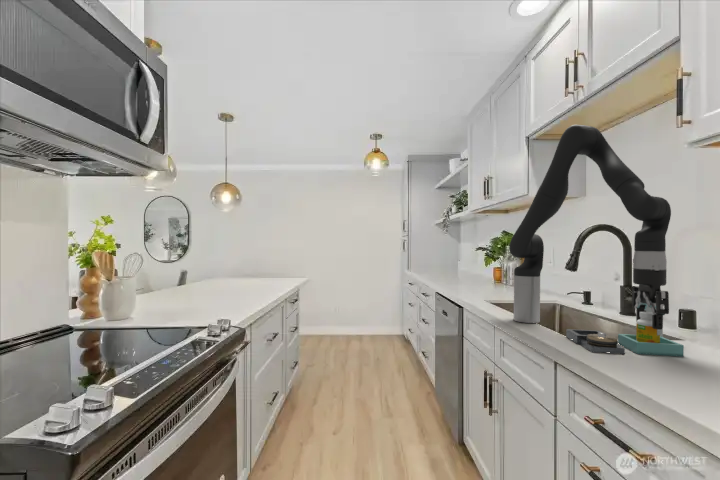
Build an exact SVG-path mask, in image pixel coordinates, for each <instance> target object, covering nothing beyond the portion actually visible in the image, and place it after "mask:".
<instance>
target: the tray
mask: <svg viewBox="0 0 720 480" xmlns="http://www.w3.org/2000/svg"><path fill="white" fill-rule="evenodd" d="M617 340H618V343H619V344H620V345H619V344H618V345H619V346H621V345H622V346H621V347H623V346H624V347H623V348H625V349H626V350H628V349H629V351H630V350H631V351H630V352H632V351H633V352H632V353H634V354H636V355H648V356H649V355H650V356H666V357H667V356H668V357H681V358H683V357H684V356H685V355H684V353H685V352H684V351H685V350H684V345H683V344H681V343H678V342H676V341H674V340H671V339H668V338H665V337H664V336H663V337H661V336H660V343H648V342H638V341H636V334H629V333H628V334H627V333H626V334H625V333H618V334H617Z"/></svg>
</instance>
